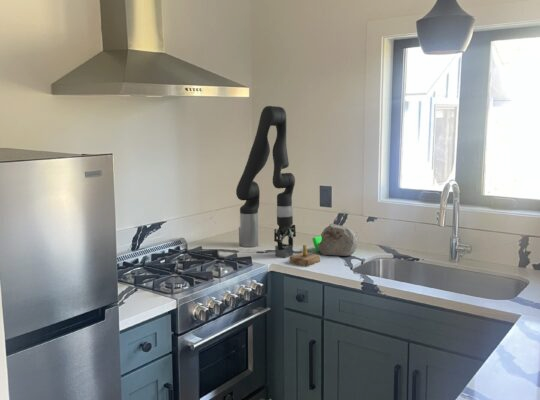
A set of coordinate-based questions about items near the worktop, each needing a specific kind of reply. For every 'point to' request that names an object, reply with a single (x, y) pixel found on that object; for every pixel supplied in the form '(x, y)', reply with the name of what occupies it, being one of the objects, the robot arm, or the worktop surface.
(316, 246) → the bracket
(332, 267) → the worktop surface
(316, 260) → the keeper
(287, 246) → the link
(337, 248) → the stone
